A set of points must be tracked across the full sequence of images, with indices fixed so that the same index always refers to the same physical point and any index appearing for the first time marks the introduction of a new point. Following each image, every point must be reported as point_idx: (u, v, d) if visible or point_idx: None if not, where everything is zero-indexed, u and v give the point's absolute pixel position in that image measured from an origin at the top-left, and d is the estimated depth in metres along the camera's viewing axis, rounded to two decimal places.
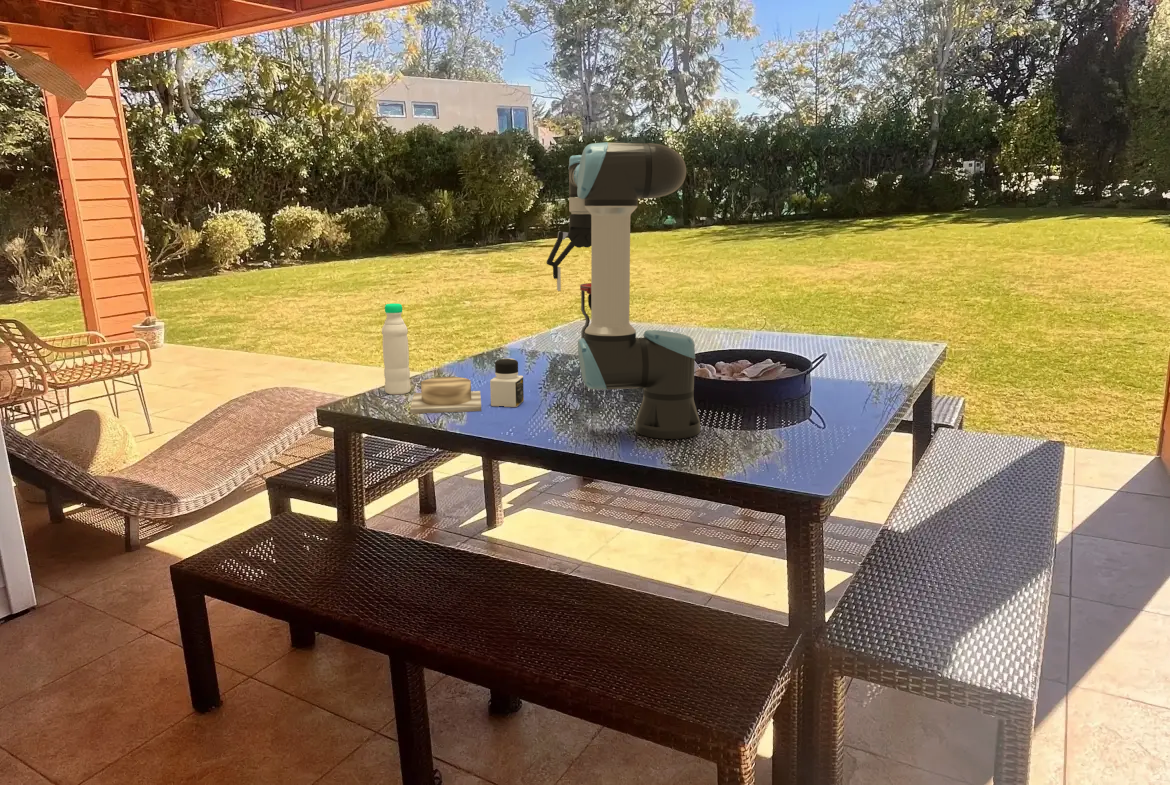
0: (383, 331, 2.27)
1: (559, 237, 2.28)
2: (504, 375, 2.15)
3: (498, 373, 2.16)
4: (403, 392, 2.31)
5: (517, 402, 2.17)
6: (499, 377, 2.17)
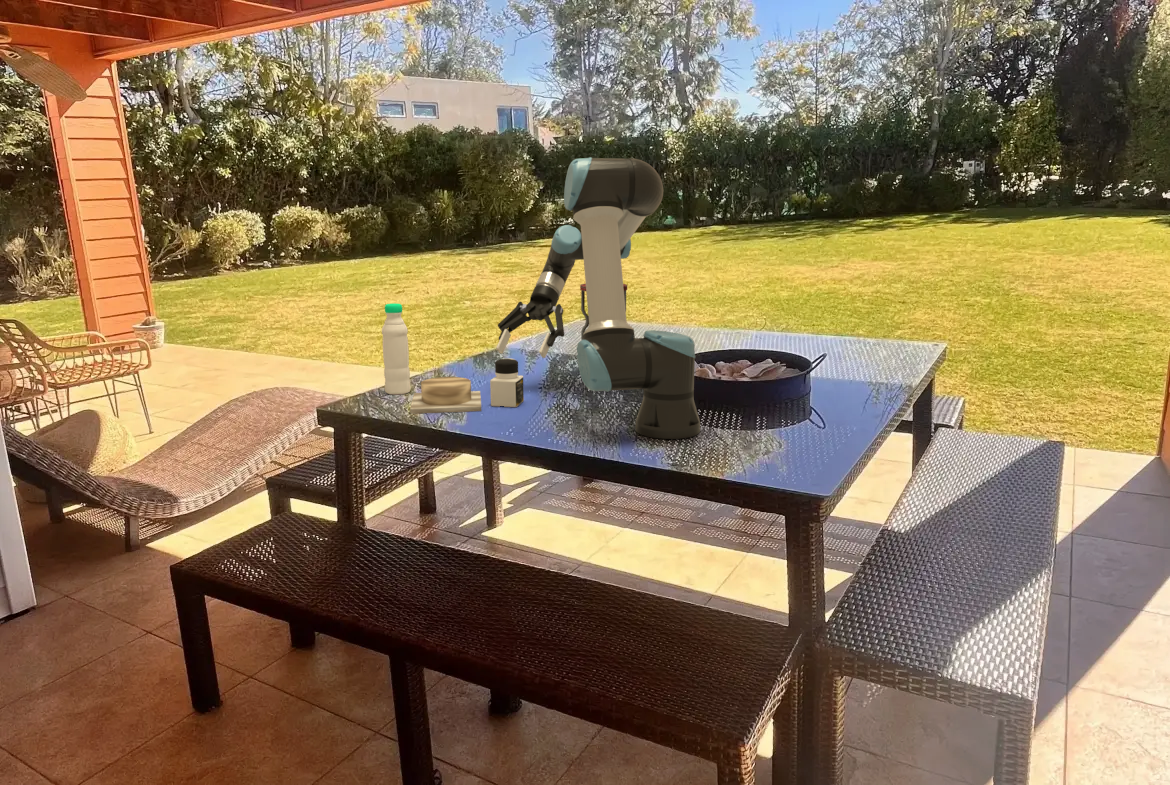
0: (383, 331, 2.27)
1: (517, 306, 2.33)
2: (504, 375, 2.15)
3: (498, 373, 2.16)
4: (403, 392, 2.31)
5: (517, 402, 2.17)
6: (499, 377, 2.17)
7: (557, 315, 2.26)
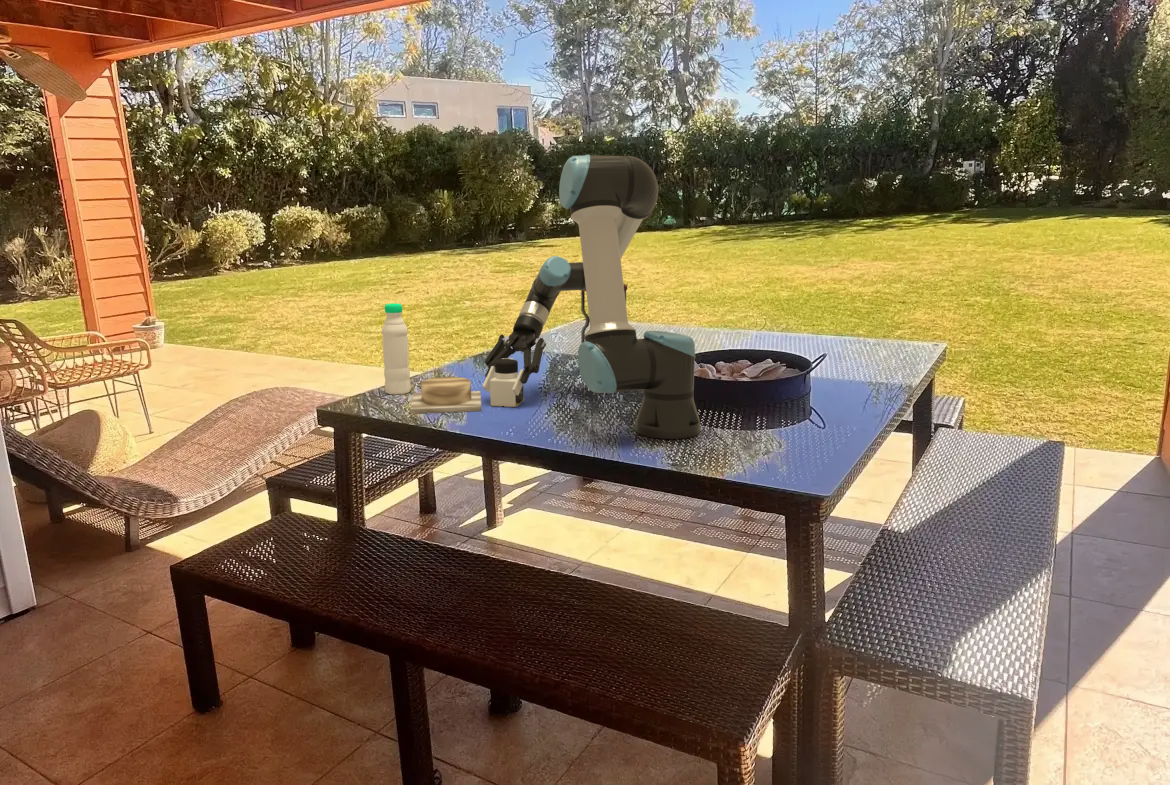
0: (383, 331, 2.27)
1: (499, 339, 2.25)
2: (504, 375, 2.15)
3: (498, 373, 2.16)
4: (403, 392, 2.31)
5: (517, 402, 2.17)
6: (499, 377, 2.17)
7: (536, 349, 2.19)
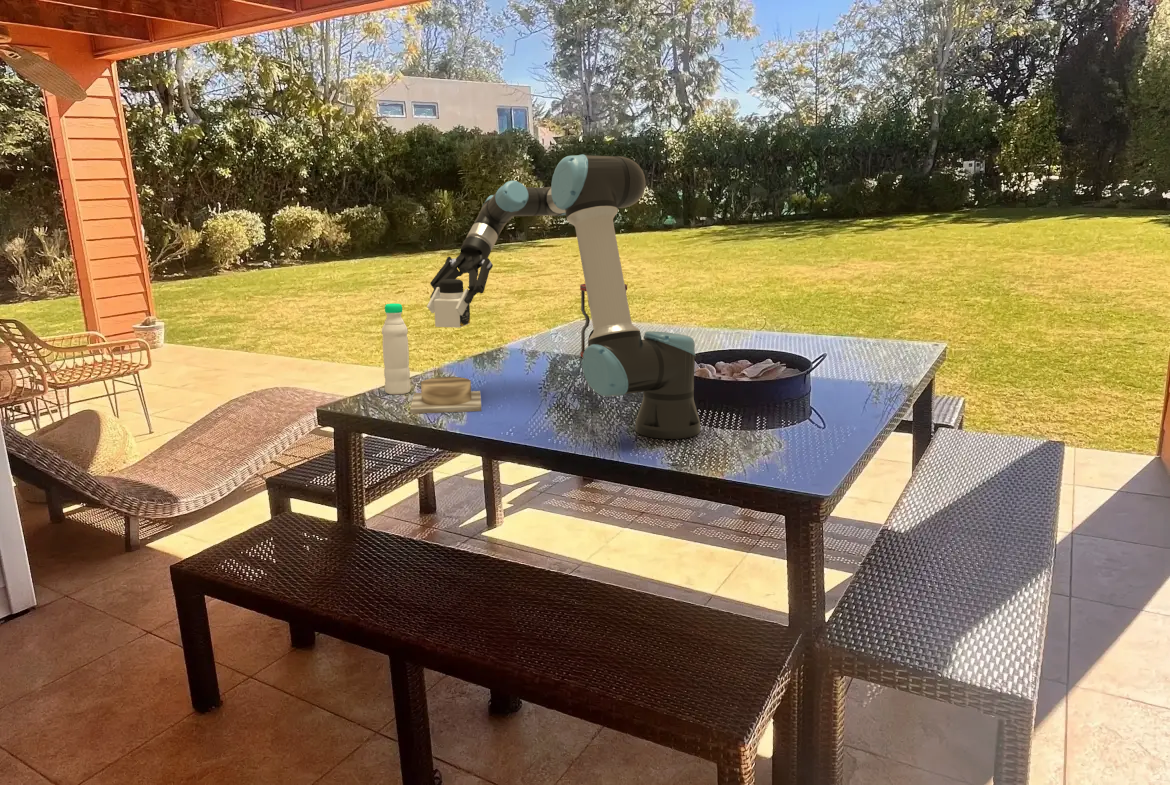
0: (383, 331, 2.27)
1: (446, 261, 2.21)
2: (448, 294, 2.11)
3: (442, 293, 2.12)
4: (403, 392, 2.31)
5: (461, 322, 2.13)
6: (443, 297, 2.13)
7: (482, 270, 2.14)
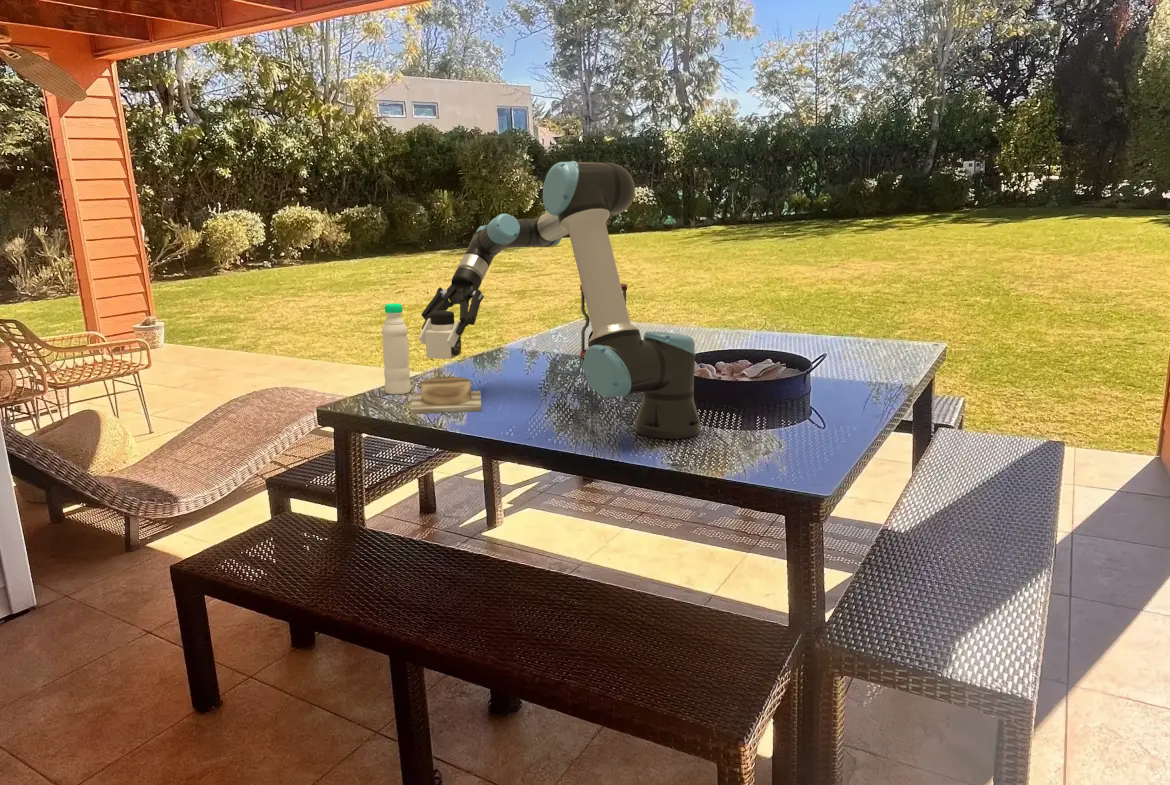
0: (383, 331, 2.27)
1: (437, 292, 2.22)
2: (439, 326, 2.13)
3: (433, 324, 2.13)
4: (403, 392, 2.31)
5: (453, 354, 2.14)
6: (434, 328, 2.14)
7: (473, 301, 2.16)
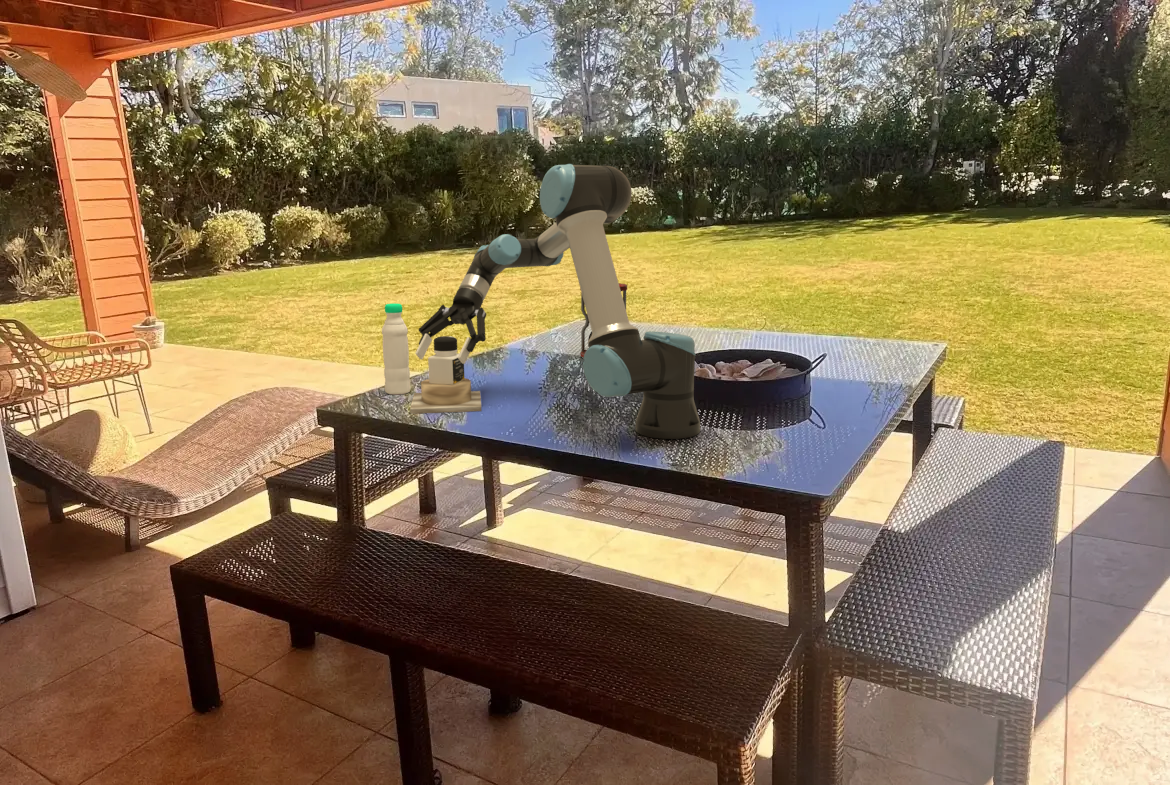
0: (383, 331, 2.27)
1: (439, 309, 2.24)
2: (442, 352, 2.14)
3: (436, 350, 2.15)
4: (403, 392, 2.31)
5: (455, 380, 2.15)
6: (437, 354, 2.15)
7: (479, 319, 2.17)
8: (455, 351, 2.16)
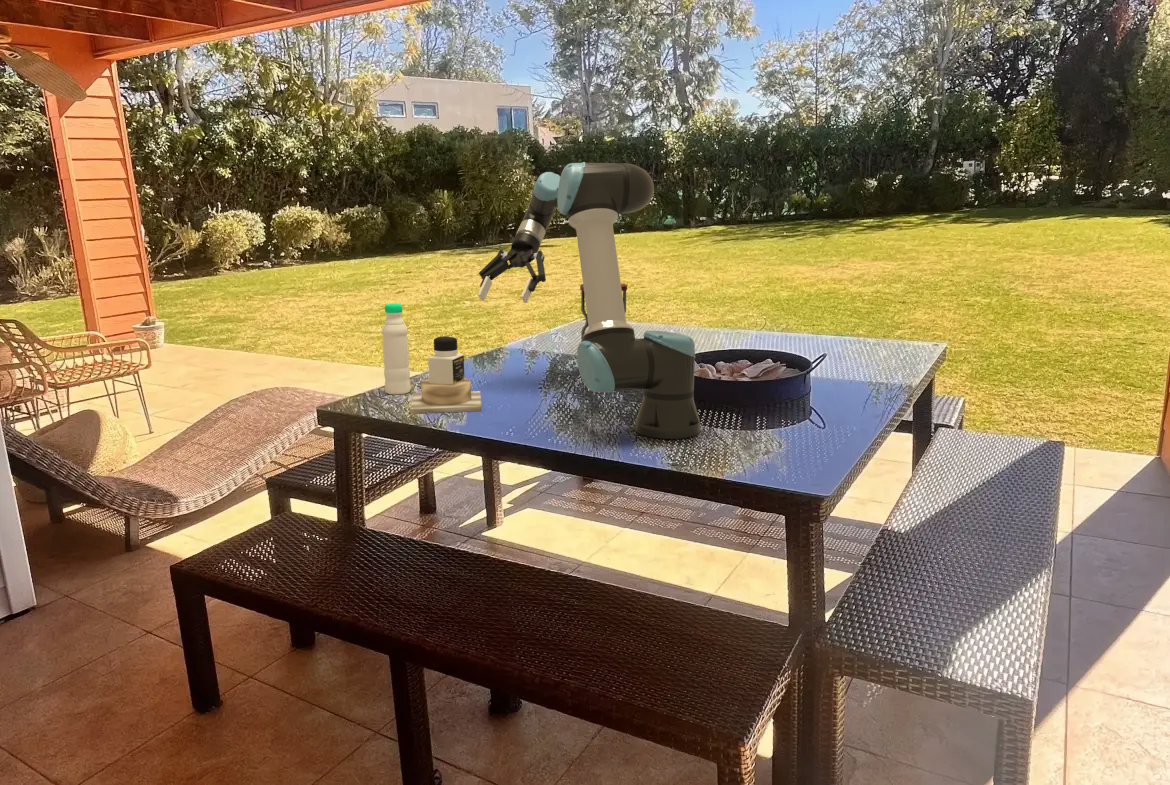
0: (383, 331, 2.27)
1: (498, 254, 2.33)
2: (442, 352, 2.14)
3: (436, 350, 2.15)
4: (403, 392, 2.31)
5: (455, 380, 2.15)
6: (437, 354, 2.15)
7: (538, 261, 2.26)
8: (455, 351, 2.16)
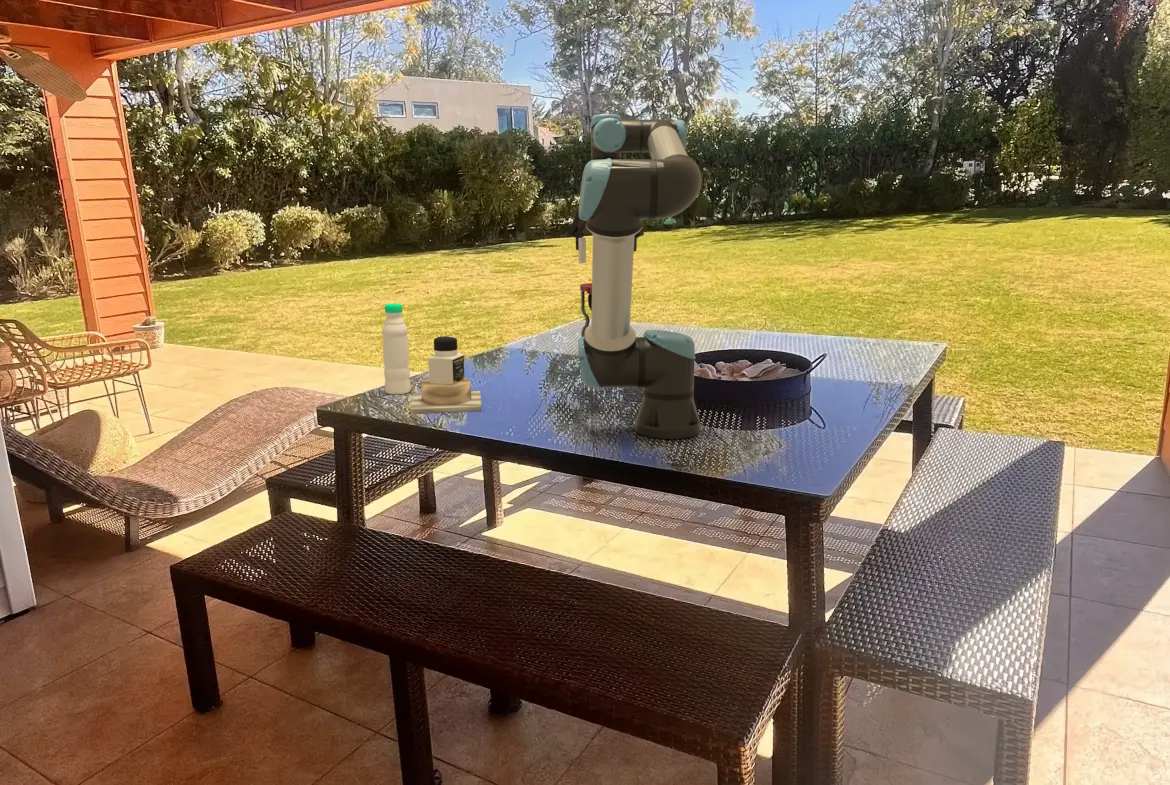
0: (383, 331, 2.27)
1: None
2: (442, 352, 2.14)
3: (436, 350, 2.15)
4: (403, 392, 2.31)
5: (455, 380, 2.15)
6: (437, 354, 2.15)
7: None
8: (455, 351, 2.16)
